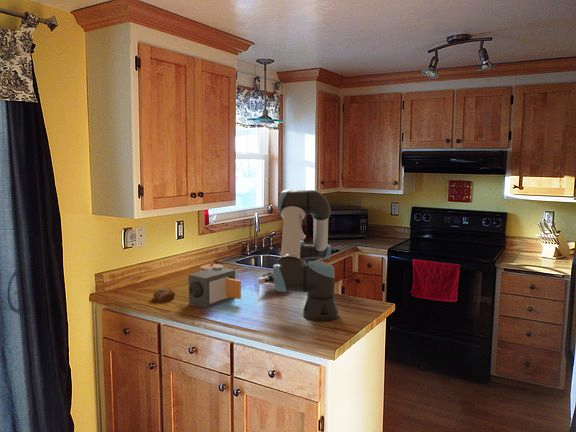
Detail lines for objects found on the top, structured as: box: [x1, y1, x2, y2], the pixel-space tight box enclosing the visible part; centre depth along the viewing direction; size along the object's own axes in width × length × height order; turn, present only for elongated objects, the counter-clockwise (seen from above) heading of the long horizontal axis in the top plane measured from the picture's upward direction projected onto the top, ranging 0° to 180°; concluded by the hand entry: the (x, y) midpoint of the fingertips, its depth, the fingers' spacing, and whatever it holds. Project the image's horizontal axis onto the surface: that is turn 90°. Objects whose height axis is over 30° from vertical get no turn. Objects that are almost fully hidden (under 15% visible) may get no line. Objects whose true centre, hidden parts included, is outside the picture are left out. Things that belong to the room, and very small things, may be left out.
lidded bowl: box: [199, 262, 225, 272], centre depth 265 cm, size 13×13×11 cm
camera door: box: [209, 277, 242, 304], centre depth 224 cm, size 9×12×10 cm
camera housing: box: [187, 266, 236, 309], centre depth 231 cm, size 11×22×15 cm, turn 145°
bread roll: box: [152, 286, 176, 303], centre depth 235 cm, size 10×10×8 cm
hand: (259, 281), depth 241 cm, fingers closed
